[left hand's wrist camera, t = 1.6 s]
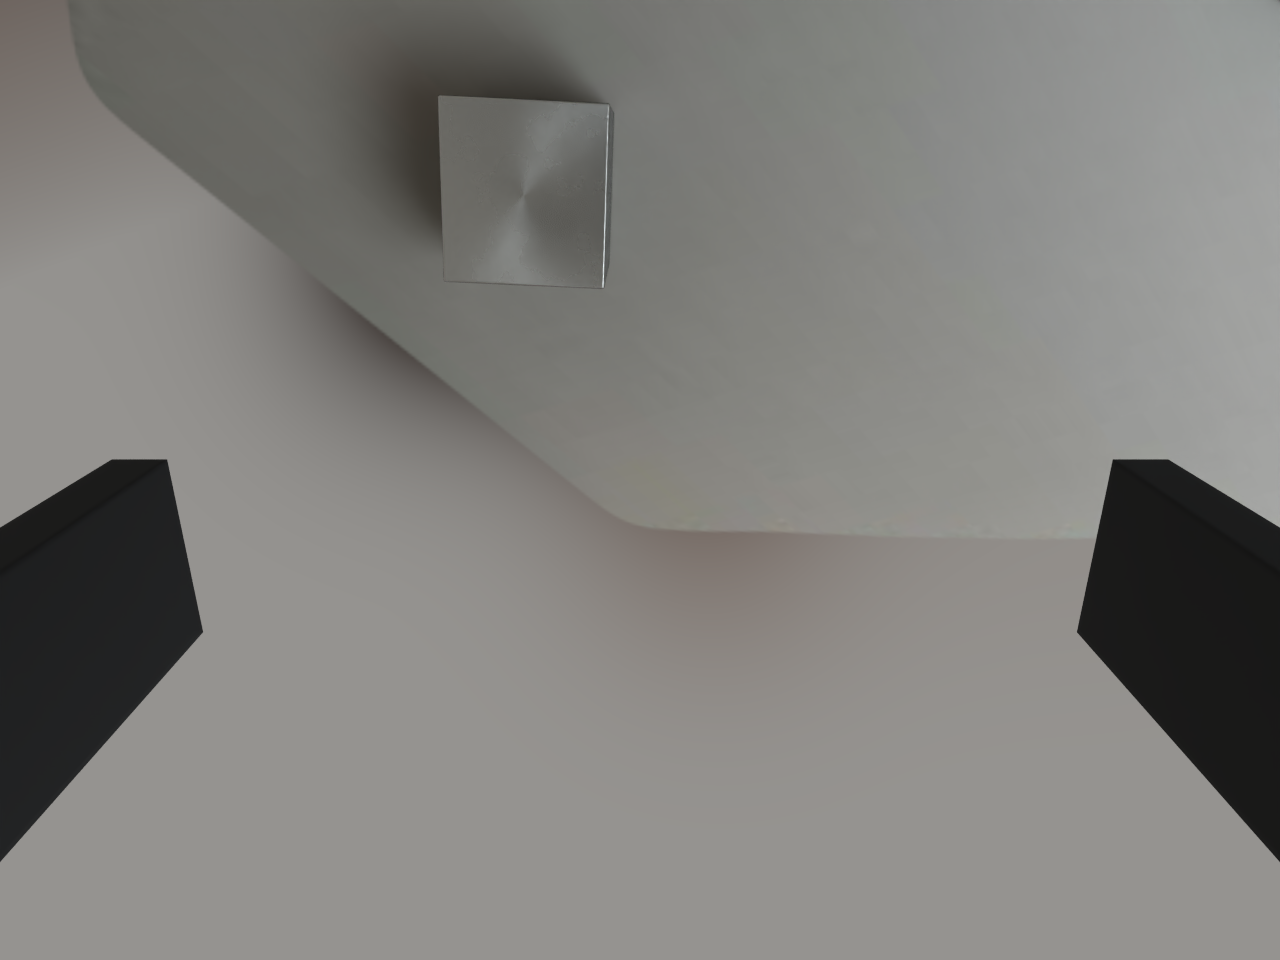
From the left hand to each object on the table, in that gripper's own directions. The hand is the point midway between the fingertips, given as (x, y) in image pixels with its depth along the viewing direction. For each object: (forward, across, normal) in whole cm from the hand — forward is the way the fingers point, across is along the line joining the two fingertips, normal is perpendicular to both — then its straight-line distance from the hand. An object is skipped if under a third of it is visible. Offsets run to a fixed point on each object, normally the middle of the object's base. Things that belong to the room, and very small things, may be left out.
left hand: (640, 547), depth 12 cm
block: (+40, -5, +3) cm, 41 cm away
